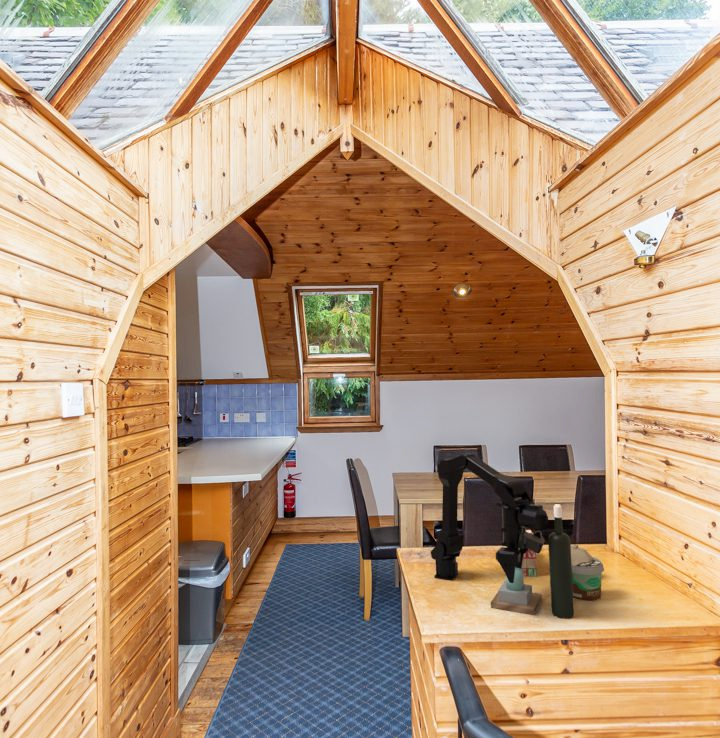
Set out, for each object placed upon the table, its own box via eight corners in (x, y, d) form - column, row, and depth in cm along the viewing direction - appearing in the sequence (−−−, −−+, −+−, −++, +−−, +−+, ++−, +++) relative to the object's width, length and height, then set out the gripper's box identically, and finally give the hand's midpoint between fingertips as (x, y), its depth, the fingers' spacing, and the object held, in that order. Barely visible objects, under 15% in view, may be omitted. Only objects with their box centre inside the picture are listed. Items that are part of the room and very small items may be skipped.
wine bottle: (562, 620, 142) (557, 508, 143) (547, 612, 147) (542, 503, 148) (578, 615, 144) (573, 505, 145) (562, 608, 149) (557, 501, 150)
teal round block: (504, 589, 152) (504, 571, 152) (508, 583, 157) (507, 566, 157) (522, 591, 150) (521, 573, 150) (525, 586, 154) (524, 568, 155)
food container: (586, 606, 150) (584, 570, 150) (568, 598, 155) (566, 564, 156) (614, 596, 156) (612, 562, 156) (596, 590, 161) (595, 556, 162)
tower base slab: (491, 611, 151) (490, 602, 151) (501, 595, 161) (501, 587, 162) (534, 618, 145) (533, 609, 145) (542, 602, 156) (541, 593, 156)
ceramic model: (606, 577, 171) (604, 546, 172) (584, 585, 165) (583, 553, 166) (568, 565, 183) (567, 536, 184) (547, 572, 177) (546, 542, 178)
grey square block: (498, 600, 152) (498, 590, 152) (505, 591, 159) (504, 581, 159) (527, 605, 148) (526, 594, 148) (532, 595, 155) (532, 585, 155)
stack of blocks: (512, 556, 196) (510, 522, 196) (529, 556, 194) (528, 523, 195) (517, 576, 175) (516, 539, 175) (537, 577, 173) (535, 539, 174)
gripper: (535, 534, 142) (537, 593, 142) (547, 518, 158) (549, 570, 158) (494, 530, 147) (496, 587, 147) (509, 515, 164) (511, 566, 163)
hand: (515, 577), depth 154 cm, fingers open, 9 cm apart
